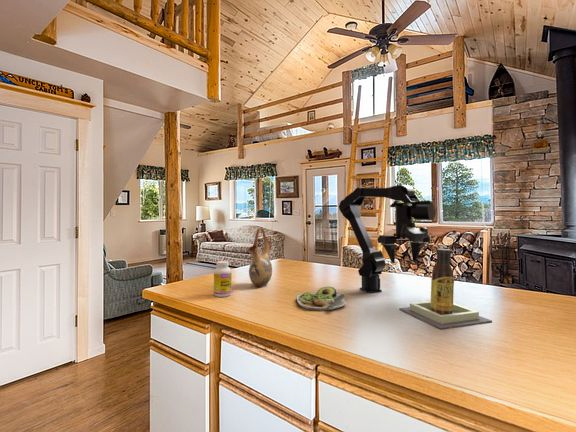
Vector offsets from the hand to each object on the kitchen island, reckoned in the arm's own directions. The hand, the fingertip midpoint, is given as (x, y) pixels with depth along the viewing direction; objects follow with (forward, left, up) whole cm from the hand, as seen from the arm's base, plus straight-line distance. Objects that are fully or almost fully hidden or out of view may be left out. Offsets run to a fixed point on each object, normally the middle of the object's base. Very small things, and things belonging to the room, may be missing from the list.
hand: (404, 262), depth 117 cm
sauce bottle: (-1, -20, -13) cm, 24 cm away
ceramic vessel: (-46, +35, -13) cm, 59 cm away
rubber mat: (-1, -20, -13) cm, 24 cm away
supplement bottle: (-63, +25, -13) cm, 69 cm away
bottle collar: (-1, -20, -13) cm, 24 cm away
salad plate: (-31, +4, -14) cm, 34 cm away
